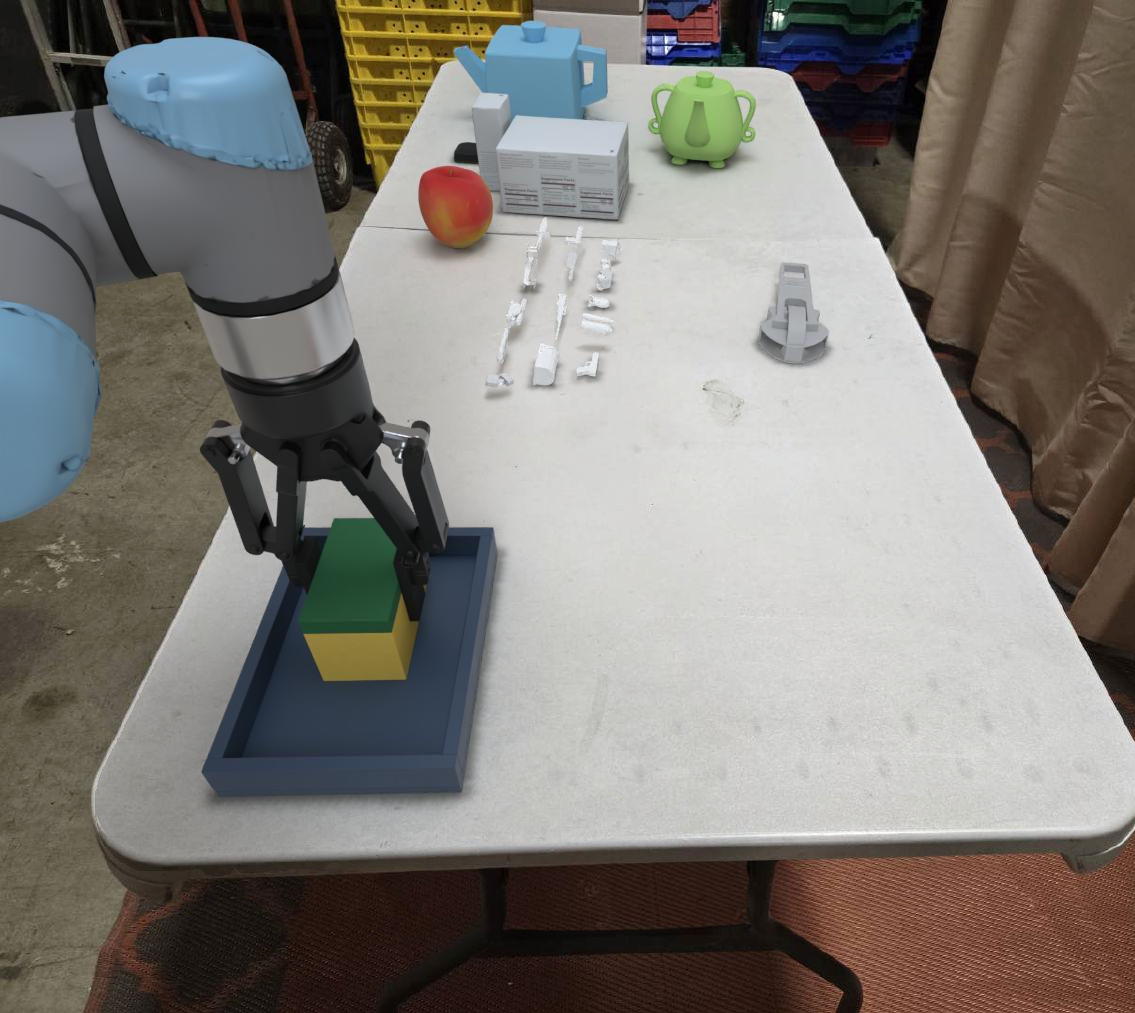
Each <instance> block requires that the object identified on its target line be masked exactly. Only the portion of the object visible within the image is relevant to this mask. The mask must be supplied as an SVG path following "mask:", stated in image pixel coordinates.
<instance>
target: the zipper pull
mask: <svg viewBox="0 0 1135 1013" xmlns="http://www.w3.org/2000/svg"><path fill="white" fill-rule="evenodd" d="M785 273H794V274H795V273H796V274H803V277H793V276H785ZM778 275H779V276H778V286H777V288H778V289H777V303H776V305H769V307H768V310H767V316H766V320H765V321H763V322H761V323H760V327H759V335H758V340H757V341H758V345H759V346H760V348H761V349H762V350H764V352H765V353H766V354H767V355H769V356H771V357H772V358H774V359H776V360H778V361H781V362H784V363H787V364H792V365H797V364H799V365H800V364H804V363H808V362H812V361H813V360H815V359H818V358H819V357H820V356H821V355H822V354H824V352H825V351H826V349H827V344H828V340H829V334H830V330H829V328H827V327H826V326H824V325H822V324H821V323H819V319H820V315H821V311H820V310H819V309H815V308H814V300H813V292H812V286H811V284H812V283H811V276H810V268H809V265H808V264H806V263H799V262H786V261H785V262H782V261H781V263H780V266H779V274H778Z"/></svg>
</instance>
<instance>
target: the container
mask: <svg viewBox="0 0 1135 1013" xmlns="http://www.w3.org/2000/svg"><path fill="white" fill-rule="evenodd" d="M582 40H583V39H582V31H581V29H580V28H571V27H549V26H547V23H545V22H543V21H539V20H526V21H523V22H522V23H521V24H520V25H510V24H502V25H501V26H500V27H499V28H498V29H497V30H496V32H495V33H494V35H493V36H492V38H491V40H490V42H489V43H488V45H487V47H486V50H485V52H484V60H485V61H484V60H482V59H481V57H479V56H478V55H477V54H476V53H475V52H474V51H473V50H472V49H471V48H469V45H463V46H459V47H456V48H454V49H453V51H452V52H453V55H454V56H455V58H457V60H458V62H459V63H460V65H461V66H462V67H463V69H464V70H465V71H466V72H467V74H468V75H469V77H470V78H471V79H472V81H473V82H474V84H475V85H476V86H477V88H478V89H479V90H480V93H495V94H508V95H509V103H510V114H511V123H512V121H513V119H514V118H515V117H516V115H519V116H532V117H548V118H564V119H581V120H584V115H585V109H586V107H588V106H590V105H593V104H595V103H597V102H599V101H602V100H604V99H607V98H608V97H607V96H608V92H609V89H608V88H609V87H608V83H609V82H608V49H604V48H600V47H594V46H589V45H584V44H583V41H582ZM584 61H585V62H593V66H592V67H593V69H592V82H590V83H587V84H585V82H586V81H585V68H584V67H585V66H584V65H585V64H584Z"/></svg>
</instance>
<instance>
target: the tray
mask: <svg viewBox="0 0 1135 1013" xmlns="http://www.w3.org/2000/svg"><path fill="white" fill-rule="evenodd" d="M330 528H331V526H330V527H323V526H321V527H319V526H317V527H315V526H311V527H306V526H305V528H304V530H303V533H302V535H301V539H302V542H303V539H304V536H316V538H317V541H318V544H319V547H320V549H321V552H322V551H323V548H324V545H325V543H326V540H327V537H328V534H329V531H330ZM497 548H498V547H497V542H496V535H495V528H494V527H493V526H457V527H456V526H449V529H448V534H447V539H446V543H445V548H444V551H443V552H442V553H439V554H434V553H431V552H428V554H429V558H430V562H431V570H430V575H429V580H428V583H427V587H426V591H425V598H424V603H423V608H422V612H421V617H420V621H419V624H418V628H417V633H416V638H415V642H414V647H413V652H412V656H411V661H410V666H409V670H408V675H407V679H406V680H354V681H323V678H322V676H321V674H320V671H319V669H318V667H317V664H316V662H315V660H314V658H313V655H312V653H311V651H310V648H309V646H308V644H307V641H306V639H305V637H304V634H303V632H302V630H301V627H300V625H299V623H298V621H299V618H300V615H301V612H302V609H303V606H304V603H305V600H306V597H307V594H306V592H305V589H304V587H303V586H294V585H293V584H292V583H291V582H290V581H289V578H288V576H287V573H286V571H285V569H284V566H283V565H282V567H281V570H280V572H279V575H278V578H277V580H276V582H275V585H274V587H273V590H272V591H271V592H272V593H271V595H270V598H269V600H268V603H267V605H266V608H265V610H264V613H263V615H262V617H261V620H260V622H259V625H258V627H257V630H256V632H255V636H254V638H253V639H252V643H251V646H250V648H249V649H248V650H249V651H248V653H247V656H246V658H245V661H244V663H243V665H242V667H241V670H240V672H239V673H240V674H239V676H238V678H237V681H236V683H235V686H234V688H233V691H232V693H231V696H230V698H229V701H228V703H227V706H226V708H225V711H224V714H223V716H222V718H221V721H220V724H219V726H218V729H217V732H216V734H215V736H214V739H213V741H212V744H211V746H210V749H209V751H208V754H207V756H206V759H205V761H204V764H203V766H202V769H201V771H200V773H201V774H202V776H203V777H204V779H205V780H206V782H207V783H208V785H209V786H210V787H211V789H212V790H213V792H214V793H215V794H216V795H217V797H219V798H220V797H221V798H222V797H268V796H269V797H272V796H275V797H276V796H277V797H278V796H316V795H317V796H321V795H323V796H325V795H374V794H375V795H377V794H378V795H379V794H424V793H426V794H427V793H429V794H430V793H433V794H434V793H461V792H463V785H464V779H465V771H466V766H467V760H468V753H469V744H470V739H471V733H472V726H473V725H472V724H473V720H474V712H475V704H476V698H477V693H478V687H479V679H480V672H481V667H482V659H483V653H484V647H485V646H484V645H485V638H486V632H487V626H488V620H489V613H490V606H491V601H492V593H493V586H494V580H495V575H496V574H495V572H496V567H497V560H498V549H497Z"/></svg>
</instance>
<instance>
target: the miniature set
mask: <svg viewBox="0 0 1135 1013" xmlns="http://www.w3.org/2000/svg"><path fill="white" fill-rule="evenodd" d="M548 223H549V222H548V217H544V218H543V219H542V220H541V222H540V225H539V228H538V231H537V230H536V231H535V235H536V236H537V238H536V242H535V244H534V246H531V245H530V240H528V241H527V245H526V250H525V251H526V253H525V265H524V274H523V282H522V283H523V289H526V286H529V285H530V286H531V285H532V286H533V289H535V288H536V284H537V274H538V273H537V272H538V261H539V251H540V250H541V247H542V242H543V239H550V238H551V237H552V234H551V233H550V232H547V228H548ZM584 231H585V229H584V227H583V225H582V226H581V225H578V228H577V231H576V235H575V236H572V237H571V236H565V241H564V244H565V245H567V246H568V245H569V246H573V247H574V248H578V247H580V245H581V241H582V237H583V232H584ZM621 251H623V248H622V247H621V243H620V238H617V240H610V239H609V240H606V239H603V240H601V248H600V252H601V253H604V254H606V255H605V257H603V258H600V263H601V264H602V265H601V267H599V269H598V271H599V274H598V275H597V279H598V281H599V283H597V284H596V285H595V287H596V288H597V291H603V290H604V289H610V288H611V286H612V280H613V274H614V271H613V270H611V268H612V263H611V260H610V259H609V258H608V257H607V255H609V256H612V257H614V259H615V260H616V259H617V257H618V255H619V254H620V253H621ZM529 253H536V256H534V257H529ZM578 255H579V254H578V253H577V252H568V255H567V258H566V264H565V269H569V273H568V281H570V282H572V281H573V276H574V270H575V266H576V262H577V259H578ZM534 259H535V265H534ZM533 266H535V268H534V277H533V278H530V275H531V272H532V269H533ZM557 298H558V300H557V302H556V303H555V307H557V310H556V314H557V315H556V321H555V323H557V326H556V332H555V337H554V340H555V341H557V340H558V338H559V332H560V328H561V323H562V320H563V316H566V314H567V308H568V305H567V304H566V301H567V294H564V293H558V295H557ZM610 302H611V301H610V300H609V299H607V298H604V297H602V296H600V297H598V296H595V295H593V294H592V293H590V294H589V299H588V304H587V307H588V308H590V307H598V308H600V309H603V308H604V309H607V308H609V307H610V305H611V304H610ZM527 303H528V300H527V299H526V298H522V299H521V301H520V303H519V302H515V301H514V300H510V301H509V305H510V306H509V308H508V312H507V313H506V314H505V318H506V324H505V325H504V328H503V331H502V335H501V337H500V341H499V345H498V350H497V355H496V363H497V364H498V365H503V363H504V362H505V359H506V355H507V352H508V348H509V343H508V339H509V333H510V329H511V327H512V326H515V325H516V326H520V325H522V321H523V316H524V313H525V309H526V307H527V306H526V305H527ZM565 304H566V305H565ZM614 321H615V320H614V319H612V318H610V317H608V316H602V315H597V314H592V313H586V312H583V313H582V320H581V326H580V332H581V331H582V332H587V333H592V334H599V335H603V336H608V335H609V334H610V333H612V332H613V328H612V327H611V325H610V324H613V323H614ZM609 323H610V324H609ZM538 346H539V347H538V350H537V355H536V359H535V364H534V368H533V369H534V370H533V380H532V382H533V383H532V385H533V386H538V385H539V386H550V385H552V384H553V383H554V381H555V378H556V371H557V366H558V361H559V359H560V352H559V351H558V348H556V347H555V346H553V345H549V344H544V342H539V345H538ZM599 357H600V353H598V352H592V357H591V360H590V361H586V362H585V365H584V366H576V373H575V375H576V377H582V376H585V375H588V376H590V377H596V375H597V369H598V362H599ZM514 382H515V380H514V378H513V377H512V375H510V374H508V372H503V373H500V374H497V373H492V372H491V373H490V372H488V373H487V374H486V378H485V382H484V383H485V384H484V385H485V386H486V387H490V388H498V386H504V385H505V386H506V387H509V386H510V387H511V385H514Z"/></svg>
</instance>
